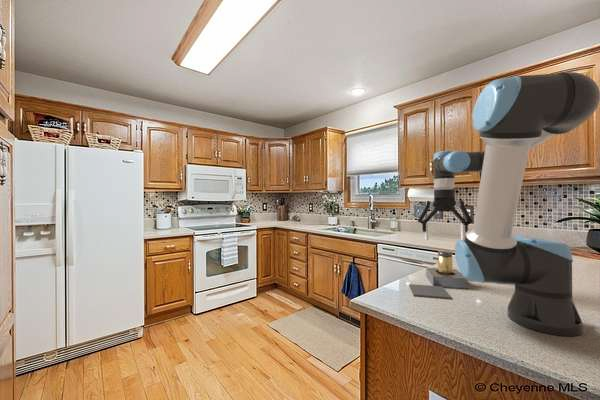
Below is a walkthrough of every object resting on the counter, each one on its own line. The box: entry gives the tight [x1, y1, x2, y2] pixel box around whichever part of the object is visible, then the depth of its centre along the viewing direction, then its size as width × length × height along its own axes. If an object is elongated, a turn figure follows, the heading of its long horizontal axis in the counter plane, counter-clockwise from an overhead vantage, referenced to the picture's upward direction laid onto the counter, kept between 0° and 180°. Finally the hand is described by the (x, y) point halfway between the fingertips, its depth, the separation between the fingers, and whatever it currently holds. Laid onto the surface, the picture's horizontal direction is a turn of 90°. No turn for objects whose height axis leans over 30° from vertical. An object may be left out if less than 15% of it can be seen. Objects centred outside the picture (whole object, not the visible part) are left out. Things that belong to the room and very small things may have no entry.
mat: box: [408, 283, 452, 300], centre depth 97 cm, size 12×12×1 cm
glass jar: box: [437, 250, 453, 275], centre depth 108 cm, size 5×5×12 cm
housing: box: [425, 267, 469, 290], centre depth 108 cm, size 14×12×4 cm
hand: (444, 240), depth 108 cm, fingers open, 13 cm apart
